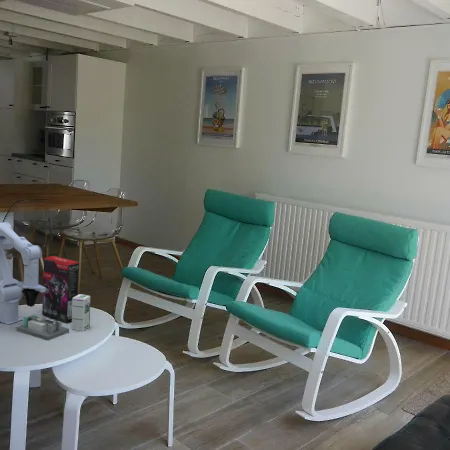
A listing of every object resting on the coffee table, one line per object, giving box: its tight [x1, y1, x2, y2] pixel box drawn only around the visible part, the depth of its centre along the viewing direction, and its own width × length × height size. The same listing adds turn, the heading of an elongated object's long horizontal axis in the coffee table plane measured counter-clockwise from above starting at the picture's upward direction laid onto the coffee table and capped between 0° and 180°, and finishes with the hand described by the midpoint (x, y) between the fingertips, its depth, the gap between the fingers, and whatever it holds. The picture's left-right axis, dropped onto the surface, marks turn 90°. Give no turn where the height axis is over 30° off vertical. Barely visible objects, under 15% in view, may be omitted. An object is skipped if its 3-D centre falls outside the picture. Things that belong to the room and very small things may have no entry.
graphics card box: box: [41, 255, 80, 323], centre depth 238 cm, size 17×7×27 cm, turn 58°
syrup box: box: [71, 293, 91, 332], centre depth 228 cm, size 6×6×14 cm
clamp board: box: [15, 314, 70, 341], centre depth 222 cm, size 18×12×5 cm, turn 63°
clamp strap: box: [27, 314, 58, 326], centre depth 221 cm, size 15×3×2 cm, turn 63°
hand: (30, 305), depth 222 cm, fingers closed
